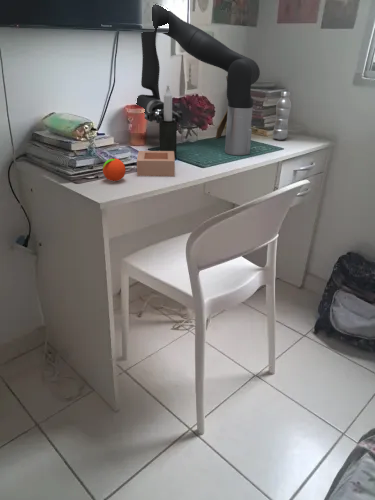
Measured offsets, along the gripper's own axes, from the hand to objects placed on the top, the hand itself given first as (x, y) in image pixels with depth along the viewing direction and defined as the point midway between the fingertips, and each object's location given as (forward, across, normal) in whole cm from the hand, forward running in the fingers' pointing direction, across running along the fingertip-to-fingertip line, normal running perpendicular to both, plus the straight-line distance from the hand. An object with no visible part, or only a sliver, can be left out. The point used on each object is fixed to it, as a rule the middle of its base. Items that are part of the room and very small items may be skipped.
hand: (169, 119), depth 139 cm
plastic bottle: (-20, +56, +15) cm, 62 cm away
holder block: (+11, -8, +14) cm, 20 cm away
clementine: (+18, -23, +14) cm, 33 cm away
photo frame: (-32, +38, +15) cm, 51 cm away
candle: (-2, 0, +14) cm, 14 cm away
